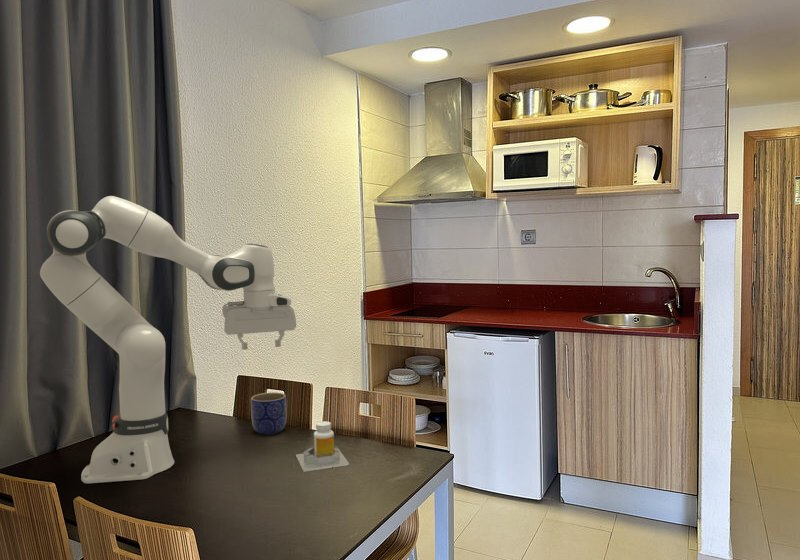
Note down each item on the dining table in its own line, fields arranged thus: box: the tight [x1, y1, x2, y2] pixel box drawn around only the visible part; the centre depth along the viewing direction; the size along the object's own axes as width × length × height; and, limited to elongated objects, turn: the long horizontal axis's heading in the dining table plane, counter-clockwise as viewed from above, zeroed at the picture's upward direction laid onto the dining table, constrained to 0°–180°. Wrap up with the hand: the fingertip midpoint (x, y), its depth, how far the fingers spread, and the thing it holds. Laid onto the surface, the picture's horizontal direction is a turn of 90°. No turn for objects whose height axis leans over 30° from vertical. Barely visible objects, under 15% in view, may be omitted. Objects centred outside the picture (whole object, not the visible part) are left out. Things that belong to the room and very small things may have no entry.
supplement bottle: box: [313, 420, 335, 456], centre depth 163 cm, size 5×5×10 cm
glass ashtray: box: [295, 446, 350, 473], centre depth 164 cm, size 12×12×3 cm
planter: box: [250, 392, 288, 436], centre depth 190 cm, size 11×11×11 cm
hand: (261, 347), depth 174 cm, fingers open, 8 cm apart
